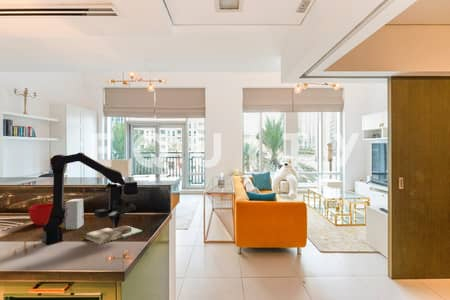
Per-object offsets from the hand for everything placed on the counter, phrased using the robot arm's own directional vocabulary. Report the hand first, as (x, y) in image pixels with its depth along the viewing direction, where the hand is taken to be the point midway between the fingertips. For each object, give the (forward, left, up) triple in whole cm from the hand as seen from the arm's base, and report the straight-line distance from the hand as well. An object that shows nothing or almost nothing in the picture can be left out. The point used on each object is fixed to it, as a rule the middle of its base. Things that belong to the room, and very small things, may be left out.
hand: (115, 227), depth 127 cm
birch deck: (-6, 0, -4) cm, 7 cm away
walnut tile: (+3, 0, -3) cm, 4 cm away
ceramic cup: (-12, +49, -4) cm, 51 cm away
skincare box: (-6, +28, -4) cm, 29 cm away
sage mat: (+6, 0, -4) cm, 7 cm away
